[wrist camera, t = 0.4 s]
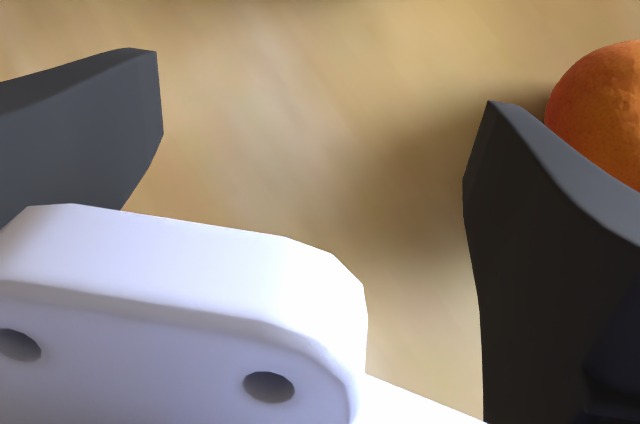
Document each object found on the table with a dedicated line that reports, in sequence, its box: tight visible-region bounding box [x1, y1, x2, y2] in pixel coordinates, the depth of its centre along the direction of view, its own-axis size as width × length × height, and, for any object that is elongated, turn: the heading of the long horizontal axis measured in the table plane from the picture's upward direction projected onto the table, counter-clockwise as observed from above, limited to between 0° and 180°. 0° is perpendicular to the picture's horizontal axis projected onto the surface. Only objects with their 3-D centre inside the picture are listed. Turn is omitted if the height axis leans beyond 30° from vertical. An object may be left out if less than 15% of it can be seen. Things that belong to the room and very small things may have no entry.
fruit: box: [544, 40, 640, 193], centre depth 36 cm, size 11×10×8 cm
